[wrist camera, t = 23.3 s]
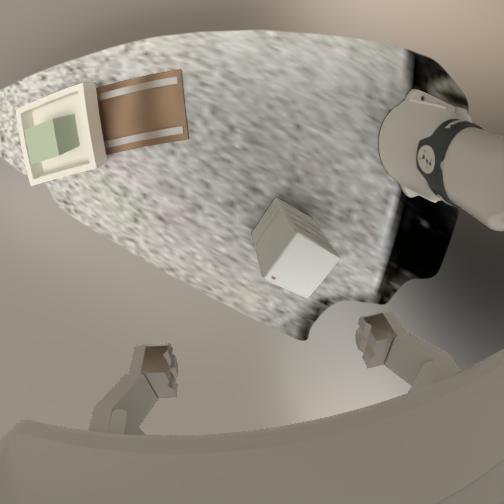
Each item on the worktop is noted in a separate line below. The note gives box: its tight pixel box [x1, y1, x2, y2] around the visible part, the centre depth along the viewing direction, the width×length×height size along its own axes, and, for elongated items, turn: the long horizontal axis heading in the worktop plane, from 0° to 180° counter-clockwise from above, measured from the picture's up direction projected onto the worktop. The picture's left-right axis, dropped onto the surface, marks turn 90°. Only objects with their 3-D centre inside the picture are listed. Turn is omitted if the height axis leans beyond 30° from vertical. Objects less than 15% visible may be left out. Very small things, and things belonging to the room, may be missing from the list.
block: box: [24, 114, 80, 165], centre depth 28 cm, size 4×4×6 cm
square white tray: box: [16, 83, 107, 186], centre depth 31 cm, size 11×11×6 cm
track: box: [96, 69, 189, 155], centre depth 34 cm, size 22×10×1 cm, turn 94°
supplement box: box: [251, 197, 341, 298], centre depth 41 cm, size 7×7×13 cm
